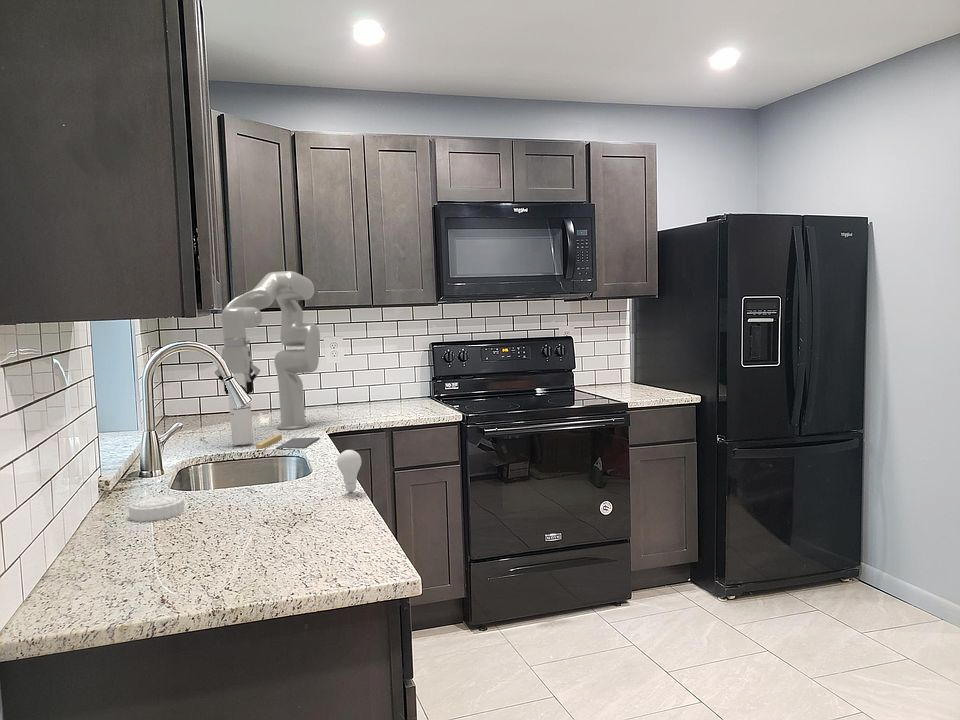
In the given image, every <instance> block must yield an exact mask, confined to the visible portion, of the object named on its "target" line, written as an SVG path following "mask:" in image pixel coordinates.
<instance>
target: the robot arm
mask: <svg viewBox="0 0 960 720" xmlns="http://www.w3.org/2000/svg"><path fill="white" fill-rule="evenodd" d="M314 294H315V286H314V283H313V282H312V281H311V279H309V278H308V277H306V276H304V275H302V274H300V273H298V272H295V271H294V270H293V271H291V270H288V271H287V270H286V271H285V270H284V271H272V272H268V273H267V274H265V275H264V277H262V279H260V281H259V282H258V283H257V284H256V285H255V286H254V288H253V289H251V290H249V291H247V292H245V293H243V294H241V295H239V296H237V297H235V298H234V299H232V300H231V301H230V302H229V303H227V305H226V306H225V307H224V309H223V310H222V311H223V312H222V311H221V317H220V319H221V324H222V335H223V348H222V350H221V359H223V360H224V361H225V362H226V364H227V365H228V367H229V369H230V370H231V372H232V373H233V374H238V373H243V374H244V375H245V377H246V379H247V381H248V382H247V383H246V384H247V391H248V393H250V394H252V393H253V391H254V383H253V382H254V381H255V380H256V378H257V377H258V375H260V373H261V369H260V368H259V367H257V366H256V365H255V364H254V362H253V357H252V353H251V352H252V351H251V349H250V346H248V344H251V340H250V339H248V338H247V333H246V332H247V331H246V329H249V328H250V329H252V328H256V327H258V326H260V325H261V323H262V321H263V314H262V312H261V310H263V309H266V308H268V307H270V306H271V305H272V304H273V303H274V301H275V300H276V303H278V305H279V308H280V311H281V323H280V337H279V338H280V342H281V344H282V345H283V346H284V347H288V348H295V347H297V348H298V347H304V348H303V349H302V348H301V349H296V348H295V349H282V350H280V351H278V352H277V353H276V354H275V356H274V359H273V361H274V362H273V363H274V367H275V371H276V375H277V382H278V383H277V385H278V394H279V395H278V397H279V411H280V413H279V415H280V424H278V425H276V428H277V429H278V430H297V429H304V428H305V429H306V428H307V427H309V426H310V423H309V422H307V421H306V413H305V400H304V384H303V381H302V378H301V377H300V376H299V375H298V374H309V373H314V372H315V371H317V369H318V367H319V360H320V346H321V333H320V330H319V327H318V326H317V324H315V323H313V322H304V311H303V309H302V307H301V306H300V305H299V303H298V302H297V301H302V300H303V301H305V300H306V301H307V300H310V299H312V297H313V296H314ZM214 374H215V375H216V376H217V377H218V379H219V381H221V382H222V384H223V388H224V392H225V395H229V394H228V390H227V388H226V385H225V381H224V379H223V377H222V375H223V374H222V371H221V372H220V370H219V367H218V368H216V370H215V371H214Z"/></svg>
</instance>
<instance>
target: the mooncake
mask: <svg viewBox="0 0 960 720" xmlns="http://www.w3.org/2000/svg"><path fill="white" fill-rule="evenodd" d="M184 512H185V502H184V497H182V496H177V495H173V494H167V495H166V494H164V495H163V494H162V495H157V496H149V497H145V498H141V499H138V500H137V501H134V502H132V503H130V504H129V506H128V514H129V517H128V518H129V520H131V521H134V522H153V521H162V520H165V519H166V520H167V519H170V518H173V517H176V516H179V515H181V514H182V513H184Z"/></svg>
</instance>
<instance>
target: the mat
mask: <svg viewBox="0 0 960 720" xmlns="http://www.w3.org/2000/svg"><path fill="white" fill-rule="evenodd" d="M320 439H321V437H320V436H319V437H293V438H290V439H289V440H287V441H285V442H284V443H282V444H280V445H278V446H277V447H275V450H276V449H280V448H281V450H284V449H283V448H305V447H306V448H308V447H309V445H310V446H311V445H313V444H315V443H316V442H318V441H319V440H320ZM307 446H308V447H307ZM306 448H305V449H306Z"/></svg>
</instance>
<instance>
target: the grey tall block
mask: <svg viewBox="0 0 960 720" xmlns="http://www.w3.org/2000/svg"><path fill="white" fill-rule="evenodd" d="M233 375H234V377H235V378H236V380H237V381H238V383H239V384H241V385H242V386H243V387H245V388H246V390H247V384H246V383H247V382H248V381H247V379H246V377H245V375H244V374H243V373H238V374H233ZM250 394H251V393H249V395H250ZM227 395H228V403H229V404H228V405H229V415H230V416H229V418H230V419H229V420H230V429H231V443H232V445H235V446H236V445H238V446H239V445H241V446H242V445H247V444H251V443H254V431H253V418H252V408H251V407H252V405H251V402H250V403H249V404H248V405H246V406H244V407H242V408H238V409H236V408H235V406H234V405H233V403H232V400H231V397H230V395H229V392H228V394H227ZM250 396H251V395H250Z"/></svg>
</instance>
